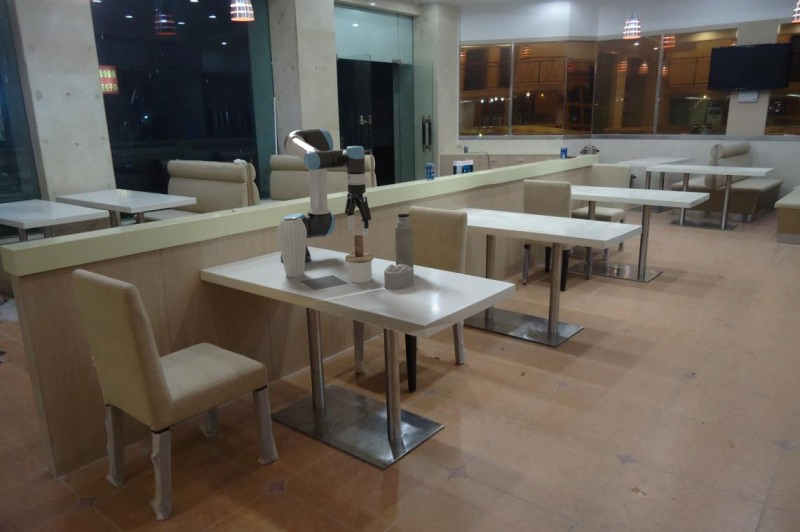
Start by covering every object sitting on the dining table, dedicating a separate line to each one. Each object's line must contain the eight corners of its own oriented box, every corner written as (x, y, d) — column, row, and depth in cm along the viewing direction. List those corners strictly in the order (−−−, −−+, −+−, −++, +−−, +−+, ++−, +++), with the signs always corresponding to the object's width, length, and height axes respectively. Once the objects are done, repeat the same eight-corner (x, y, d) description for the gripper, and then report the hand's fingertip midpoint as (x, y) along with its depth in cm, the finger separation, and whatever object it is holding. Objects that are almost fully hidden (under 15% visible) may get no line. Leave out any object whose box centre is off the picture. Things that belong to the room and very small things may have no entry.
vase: (312, 278, 255) (308, 220, 248) (282, 281, 251) (277, 223, 244) (307, 270, 267) (303, 216, 260) (278, 273, 263) (274, 218, 256)
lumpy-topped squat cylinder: (416, 284, 243) (416, 264, 240) (396, 291, 233) (396, 271, 231) (398, 280, 249) (398, 261, 247) (378, 287, 240) (377, 267, 237)
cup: (368, 285, 243) (368, 262, 240) (346, 284, 245) (345, 261, 242) (374, 278, 252) (373, 256, 250) (352, 277, 254) (351, 256, 252)
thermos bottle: (400, 271, 262) (399, 212, 254) (416, 273, 258) (415, 213, 251) (393, 276, 255) (391, 215, 247) (409, 278, 251) (408, 216, 244)
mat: (299, 282, 249) (299, 281, 249) (333, 276, 257) (332, 275, 257) (313, 291, 236) (313, 289, 236) (348, 284, 244) (348, 283, 243)
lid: (341, 258, 248) (339, 235, 245) (365, 254, 254) (364, 231, 251) (353, 264, 238) (352, 240, 235) (378, 260, 244) (377, 236, 241)
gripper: (335, 181, 246) (338, 228, 252) (362, 187, 225) (363, 239, 231) (351, 179, 250) (353, 226, 255) (378, 186, 229) (379, 237, 235)
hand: (358, 232), depth 243 cm, fingers open, 13 cm apart
